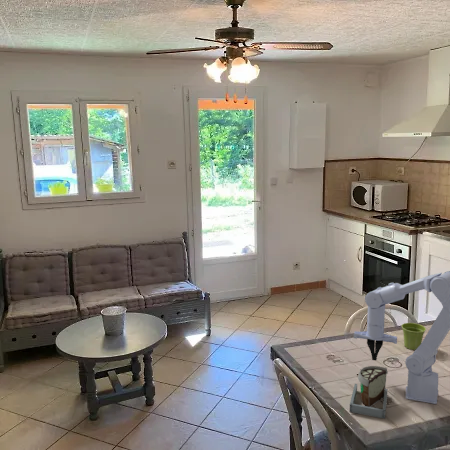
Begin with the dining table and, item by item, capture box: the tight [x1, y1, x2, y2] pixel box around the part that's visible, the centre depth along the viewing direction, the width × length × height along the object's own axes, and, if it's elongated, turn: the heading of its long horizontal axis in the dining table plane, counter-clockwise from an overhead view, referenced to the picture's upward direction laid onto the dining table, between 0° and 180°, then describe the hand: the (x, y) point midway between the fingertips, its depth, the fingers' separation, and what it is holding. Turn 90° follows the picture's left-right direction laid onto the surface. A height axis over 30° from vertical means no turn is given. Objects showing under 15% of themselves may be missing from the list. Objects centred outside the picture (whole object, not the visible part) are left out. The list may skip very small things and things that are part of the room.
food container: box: [357, 365, 389, 407], centre depth 153 cm, size 12×6×10 cm, turn 132°
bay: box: [349, 383, 388, 419], centre depth 150 cm, size 11×14×2 cm
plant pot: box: [401, 322, 427, 351], centre depth 190 cm, size 9×9×9 cm
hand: (374, 359), depth 165 cm, fingers closed
